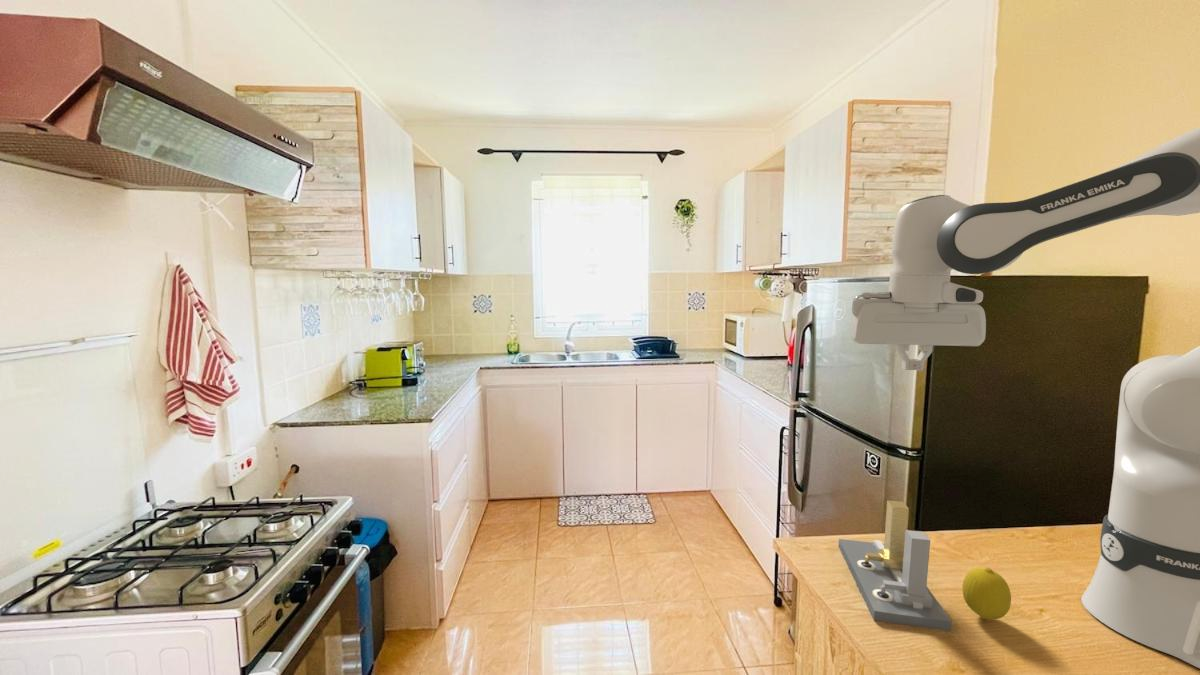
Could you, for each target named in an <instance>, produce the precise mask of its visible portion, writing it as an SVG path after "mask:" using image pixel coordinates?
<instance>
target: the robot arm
mask: <svg viewBox="0 0 1200 675" xmlns="http://www.w3.org/2000/svg"><path fill="white" fill-rule="evenodd" d="M1198 213H1200V126H1198V127H1196V128H1194V129H1192V130H1189V131H1187V132H1185V133H1183V134H1180V135H1177V136H1176V137H1174V138H1171V139H1170V140H1168V141H1165V142H1164V143H1162V144H1159V145H1158V146H1156V147H1154V148H1152V149H1151V150H1148V151H1147V152H1145V153H1143V154H1141V155H1139V156H1136V157H1135V158H1133V159H1131V160H1129V161H1127V162H1125V163H1123V164H1121V165H1120V166H1119V165H1118V166H1117V167H1115V168H1112V169H1110V170H1108V171H1106V172H1102V173H1100V174H1097V175H1094V176H1091V177H1088V178H1086V179H1082V180H1080V181H1076V182H1073V183H1070V184H1068V185H1065V186H1063V187H1060V188H1056V189H1053V190H1051V191H1048V192H1045V193H1041V194H1038V195H1037V196H1033V197H1030V198H1026V199H1023V200H1018V201H1011V202H1010V201H1008V202H985V203H984V202H983V203H977V204H973V205H969V204H967V203H963V202H961V201H959V200H956V199H955V198H953V197H951V196H950V195H946V194H937V195H930V196H925V197H922V198H918V199H914V200H911V201H910V202H908V203H906V204H904V205H903V206H901V208H900V209H899V211H898V212H897V214H896V216H895V220H894V225H893V231H892V238H891V252H890V253H891V256H892V268H891V269H890V272H889V282H888V292H886V291H885V292H884V291H883V292H862V293H861V294H860V295H857V296H856V297H855V298H854V299H853V301H852V308H851V310H852V314H853V320H852V324H851V328H850V331H851V332H850V338H851V339H852V340H853V342H854V343H856V344H860V345H895V351H896V352H897V354H898V355H899V357H900V359H901V369H902V370H904V371H905V370H906V371H923V370H925V369H924V367H925V362H926V361H927V359H928V358H929V357H930V356H931V354H932V353H933V350H934V346H951V347H952V346H953V347H954V346H955V347H956V346H957V347H979V346H981V345H982V344H983V343H984V342H985V340H986V334H987V333H986V332H987V329H986V328H987V318H986V312H985V310H984V308H983V307H982V306H981V304H980V303H981V302H983V299H984V292H983V291H982V290H979V289H976V288H972V287H968V286H966V285H965V286H964V285H961V284H958V283H954V282H951V273H952V270H953V271H956V272H959V273H963V274H967V275H982V274H983V275H984V274H987V273H992V272H997V271H1000V270H1002V269H1005V268H1007V267H1008V266H1011V265H1012V264H1013V263H1015V262H1016V261H1017V260H1018V259H1019V258H1020V257H1021V256H1022V254H1023V253H1024V252H1026V251H1027V250H1029V249H1031V248H1033V247H1035V246H1037V245H1039V244H1042V243H1045V242H1047V241H1051V240H1054V239H1057V238H1061V237H1064V236H1066V235H1070V234H1073V233H1074V234H1075V233H1077V232H1080V231H1083V230H1087V229H1090V228H1093V227H1096V226H1099V225H1103V224H1107V223H1109V222H1113V221H1117V220H1122V219H1126V218H1133V217H1139V216H1152V215H1153V216H1157V215H1158V216H1170V217H1171V216H1172V217H1173V216H1174V217H1179V216H1180V217H1181V216H1187V215H1193V214H1194V215H1195V214H1198ZM910 346H918V350H919V351H920V353H919V354H918V355H917V357H916V358H909V355H908V354H907V352H908V351H910ZM1119 391H1120V392H1119V401H1118V412H1117V425H1116V438H1115V439H1116V440H1115V450H1114V464H1113V474H1112V483H1111V491H1110V498H1109V507H1108V513H1107V514H1106V515H1105V516H1103V519H1102V526H1101V532H1100V538H1099V539H1100V544H1099V545H1100V556H1099V560H1098V563H1097V566H1096V569H1095V572H1094V573H1093V576H1092V578H1091V580H1090V582H1089V585H1088V586H1087V588H1086V590H1085V591H1084V592H1083V594H1082V595H1081V603H1082V605H1083V607H1084V608H1085V609H1086V610H1087V611H1088V612H1089V613H1090V614H1091V615H1092V616H1093V617H1094V618H1095V619H1097V620H1099V621H1100V622H1101V623H1103V624H1104V625H1106V626H1107V627H1109V628H1111V629H1112V630H1113V631H1115V632H1117V633H1119V634H1121V635H1122V636H1125V637H1127V638H1129V639H1131V640H1133V641H1136V642H1137V643H1140V644H1142V645H1145V646H1147V647H1149V648H1151V649H1154V650H1156V651H1160V652H1163V653H1165V654H1168V655H1170V656H1173V657H1175V658H1178V659H1180V660H1181V661H1184V662H1185V663H1188V664H1189V665H1192V666H1194V667H1196V668H1198V669H1200V345H1199V346H1197V347H1195V348H1193V349H1191V350H1189V351H1188V352H1186V353H1184V354H1165V355H1164V354H1163V355H1160V356H1159V355H1158V356H1153V357H1151V358H1147V359H1144V360H1142V361H1140V362H1139V363H1137V364H1135V365H1134V366H1132V367H1131V368H1130V369H1129V370H1128V371H1127V372H1126V373H1125V375H1124V376H1123V378H1122V381H1121V384H1120V390H1119Z"/></svg>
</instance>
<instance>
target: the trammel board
mask: <svg viewBox="0 0 1200 675" xmlns="http://www.w3.org/2000/svg"><path fill="white" fill-rule="evenodd" d="M838 549H839V550H840V552H841V555H842V557H843V559H844V560H845V564H846V565H847V567H848V569H849V572H850V573H851V575H852V577H853V580H854V582H855V584H856V586H857V587H858V590H859V593H860V594H861V596H862V598H863V600H864V603H865V605H866V607H867V609H868V611H869V614H870V615H871V616H872V619H873V621H877V622H885V623H890V624H899V625H906V626H912V627H919V628H926V629H933V630H940V631H945V632H946V631H947V632H951V631H952V624H953V622H952V620H951V619H950V617H949V616H948V614H947V613H946V612H945V610H944V609H943V607H942V605H941V604H940V603H939V601H938V600H937V599H936V597H935V596H934V594H933V593H932V592H931V590H930V589H929V587H928V586H927V585H928V573H929V562H930V549H931V539H930V538H929V537H928V535H927V534H926V533H925V532H924V531H921V530H909V529H907V530H906V531H905V544H904V557H903V569H895V568H887V567H883V565H882V563H881V562H880V561H872V560H869V564H866V563H865V556H866V552H868V553H876V554H878V549H884V543H883V542H882V540H881V539H880V540H879V539H873V540H872V542H871V541H861V540H852V539H851V540H850V539H845V538H844V539H842V538H838Z"/></svg>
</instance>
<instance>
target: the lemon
mask: <svg viewBox="0 0 1200 675" xmlns="http://www.w3.org/2000/svg"><path fill="white" fill-rule="evenodd" d="M1010 590H1011V589H1010V587H1009V585H1008V583H1007V581H1006V580H1005V579H1004V577H1003V576H1002V575H1001V574H999V573H998V572H996V571H995V570H993V569H992V568H990V567H975V568H973V569H971V570H969V571H968V572H967V574H966V575H965V576H964V579H963V582H962V595H963V599H964V602H965V603H966V605H967V606H968V607H969V609H970V610H971V611H973V613H975V614H976V615H977V616H979V617H980V618H981V619H983V620H998V619H1002V618H1003V617H1005V615H1007V614H1008V612H1010V609H1011V604H1012V595H1011V594H1012V593H1011V591H1010Z"/></svg>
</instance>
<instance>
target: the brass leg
mask: <svg viewBox="0 0 1200 675" xmlns="http://www.w3.org/2000/svg"><path fill="white" fill-rule="evenodd" d="M886 502H887V503H886V514H885V515H886V516H885V528H884V530H885V531H884V541H883V542H884V543H883V544H884V549H878V554H876V553H868V552H866V556H865V563H866V564H869V560H872V561H880V562H881V563H882V565H883V567H887V568H895V569H903V557H904V544H905V531H906V530H908V527H909V526H908V524H909V513H910V512H909V511H910V510H909V509H910V508H909V507H908V505H907V504H906V503H905V502H904V501H900V500H899V501H897V500H887V501H886Z"/></svg>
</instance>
